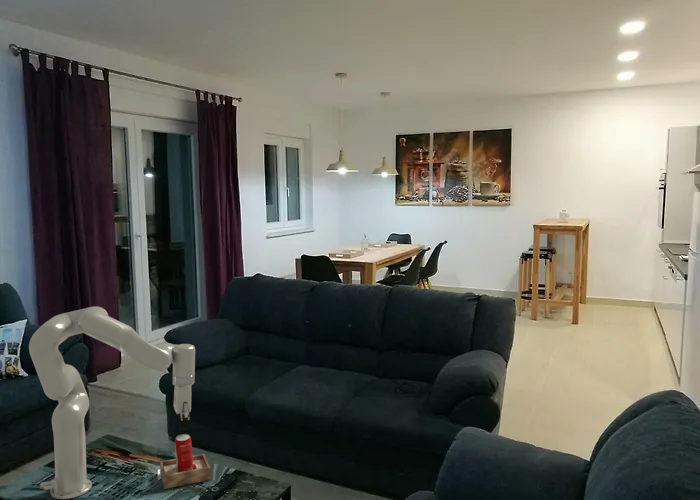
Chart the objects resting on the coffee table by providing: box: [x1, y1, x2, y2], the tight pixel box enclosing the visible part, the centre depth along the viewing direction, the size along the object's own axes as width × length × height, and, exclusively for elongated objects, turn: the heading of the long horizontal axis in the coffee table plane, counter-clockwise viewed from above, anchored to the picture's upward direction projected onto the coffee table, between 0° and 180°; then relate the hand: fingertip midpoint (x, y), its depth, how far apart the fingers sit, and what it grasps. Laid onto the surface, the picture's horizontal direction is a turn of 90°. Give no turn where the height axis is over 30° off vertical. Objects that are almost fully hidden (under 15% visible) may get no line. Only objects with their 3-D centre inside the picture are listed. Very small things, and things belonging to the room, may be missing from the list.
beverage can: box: [174, 433, 193, 473], centre depth 196 cm, size 6×6×15 cm
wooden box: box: [159, 453, 211, 490], centre depth 196 cm, size 16×12×4 cm
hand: (182, 425), depth 194 cm, fingers open, 9 cm apart
